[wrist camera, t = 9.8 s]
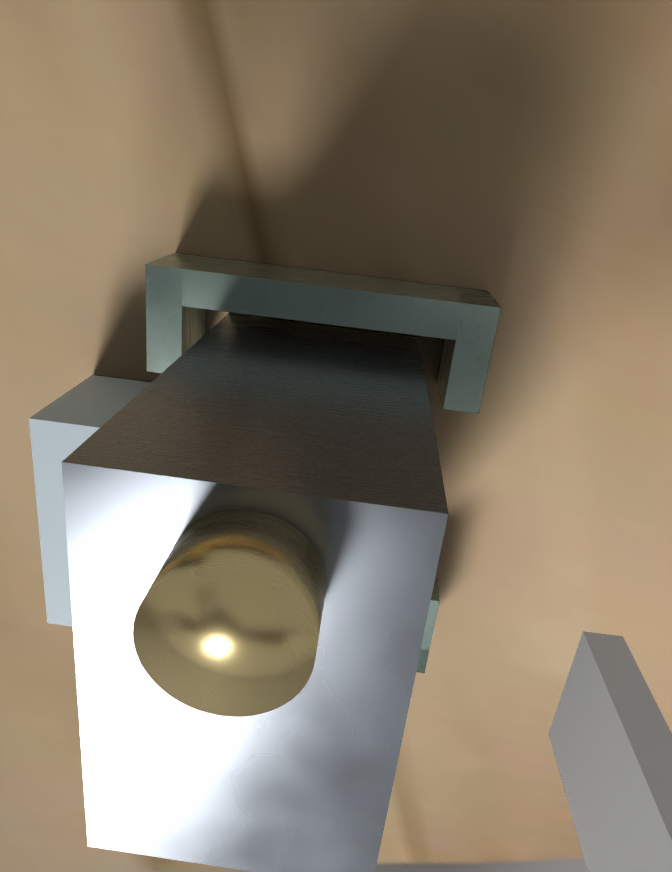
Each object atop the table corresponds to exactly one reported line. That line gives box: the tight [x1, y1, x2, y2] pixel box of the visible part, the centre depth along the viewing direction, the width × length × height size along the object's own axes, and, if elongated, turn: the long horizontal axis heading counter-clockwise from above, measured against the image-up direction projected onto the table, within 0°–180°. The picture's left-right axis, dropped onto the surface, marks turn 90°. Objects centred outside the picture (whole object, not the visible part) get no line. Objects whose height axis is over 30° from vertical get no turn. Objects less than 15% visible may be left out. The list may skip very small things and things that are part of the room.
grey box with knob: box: [62, 314, 448, 872], centre depth 16 cm, size 9×6×13 cm, turn 174°
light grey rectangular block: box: [29, 375, 151, 627], centre depth 21 cm, size 7×2×4 cm, turn 174°
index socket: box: [146, 253, 501, 673], centre depth 20 cm, size 12×10×2 cm
